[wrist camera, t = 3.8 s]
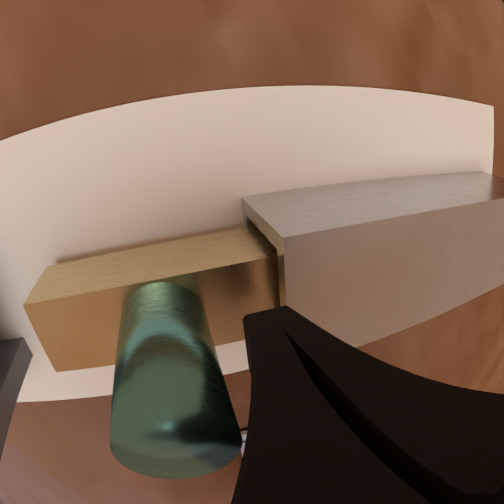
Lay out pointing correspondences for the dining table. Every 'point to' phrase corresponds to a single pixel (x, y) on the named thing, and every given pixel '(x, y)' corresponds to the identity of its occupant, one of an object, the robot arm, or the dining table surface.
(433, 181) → the steel sleeve
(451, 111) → the base board
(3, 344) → the charcoal socket
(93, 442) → the dining table surface
